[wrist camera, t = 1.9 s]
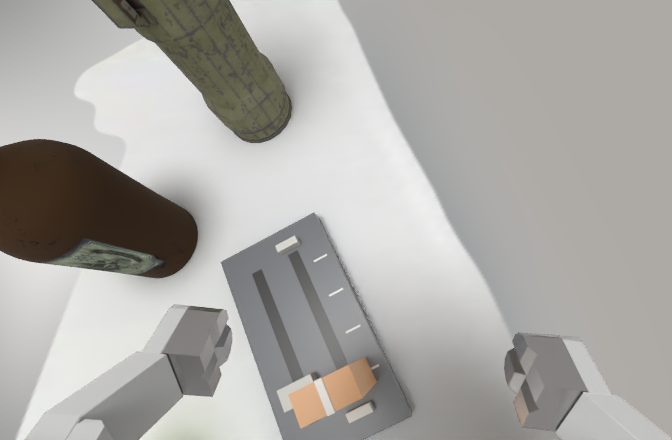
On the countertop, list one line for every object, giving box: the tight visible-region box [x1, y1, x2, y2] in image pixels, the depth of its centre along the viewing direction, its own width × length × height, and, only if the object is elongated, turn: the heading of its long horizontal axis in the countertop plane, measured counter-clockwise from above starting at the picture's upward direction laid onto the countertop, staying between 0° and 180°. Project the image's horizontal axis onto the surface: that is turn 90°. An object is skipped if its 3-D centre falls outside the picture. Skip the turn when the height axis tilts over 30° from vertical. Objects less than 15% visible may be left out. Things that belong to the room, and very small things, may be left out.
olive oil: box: [0, 139, 197, 278], centre depth 34 cm, size 11×11×25 cm
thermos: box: [92, 0, 292, 143], centre depth 32 cm, size 9×12×35 cm
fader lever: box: [288, 357, 377, 428], centre depth 30 cm, size 2×5×9 cm, turn 115°
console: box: [221, 213, 412, 440], centre depth 37 cm, size 22×12×4 cm, turn 25°
